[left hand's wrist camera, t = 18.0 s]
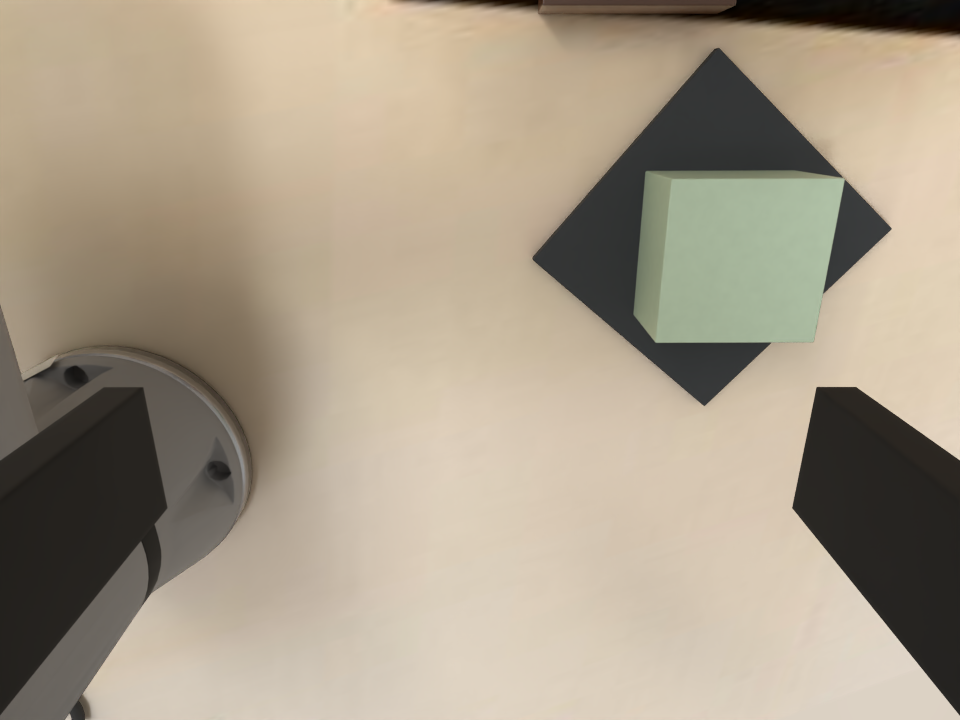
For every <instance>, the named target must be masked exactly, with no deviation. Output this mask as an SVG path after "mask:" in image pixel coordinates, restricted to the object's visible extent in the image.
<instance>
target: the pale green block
mask: <svg viewBox="0 0 960 720" xmlns="http://www.w3.org/2000/svg"><path fill="white" fill-rule="evenodd" d="M844 181H845V179H844V178H840V177H834V176H827V175H821V174H815V173H808V172H802V171H795V170H758V171H646V172H645V184H644V195H643V207H642V219H641V231H640V243H639V255H638V266H637V278H636V290H635V302H634V316H635V317H636V318H637V320H638V321H639V322H640V324H641V325H642V326H643V327H644V329H645V330H646V331H647V332H648V334H649V335H650V336H651V337H652V339H653V340H654V341H655V342H656V343H753V342H814V338H815V333H816V328H817V322H818V317H819V312H820V307H821V301H822V296H823V291H824V286H825V280H826V275H827V270H828V265H829V260H830V254H831V249H832V244H833V239H834V233H835V228H836V223H837V218H838V212H839V207H840V202H841V197H842V192H843V186H844Z"/></svg>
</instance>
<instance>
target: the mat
mask: <svg viewBox="0 0 960 720" xmlns="http://www.w3.org/2000/svg"><path fill="white" fill-rule="evenodd" d="M758 170H795V171H802V172H808V173H815V174H821V175H827V176H834V177H840V178H843V177H842V176H841V175H840V174H839V173H838V172H837V171H836V170H835V169H834V168H833V167H832V166H831V165H830V164H829V162H828V161H827V160H826V159H825V158H824V157H823V156H822V155H821V154H820V153H819V152H818V151H817V150H816V149H815V148H814V147H813V146H812V145H811V144H810V143H809V142H808V141H807V139H806V138H805V137H804V136H803V135H802V134H801V133H800V132H799V131H798V130H797V129H796V128H795V127H794V126H793V125H792V124H791V123H790V122H789V121H788V120H787V119H786V118H785V116H784V115H783V114H782V113H781V112H780V111H779V110H778V109H777V108H776V107H775V106H774V105H773V104H772V103H771V102H770V101H769V100H768V99H767V98H766V97H765V96H764V95H763V93H762V92H761V91H760V90H759V89H758V88H757V87H756V86H755V85H754V84H753V83H752V82H751V81H750V80H749V79H748V78H747V77H746V76H745V75H744V74H743V73H742V72H741V70H740V69H739V68H738V67H737V66H736V65H735V64H734V63H733V62H732V61H731V60H730V59H729V58H728V57H727V56H726V55H725V54H724V53H723V52H722V51H721V50H720V49H719V48H717V49H714V50H713V52H712V53H711V54H710V55H709V56H708V57H707V58H706V60H705V61H704V62H703V63H702V64H701V65H700V66H699V68H698V69H697V70H696V71H695V72H694V73H693V74H692V76H691V77H690V78H689V79H688V80H687V81H686V82H685V84H684V85H683V86H682V87H681V88H680V89H679V90H678V92H677V93H676V94H675V95H674V96H673V97H672V98H671V100H670V101H669V102H668V103H667V104H666V105H665V106H664V108H663V109H662V110H661V111H660V112H659V113H658V114H657V116H656V117H655V118H654V119H653V120H652V121H651V122H650V124H649V125H648V126H647V127H646V128H645V129H644V130H643V132H642V133H641V134H640V135H639V136H638V137H637V138H636V140H635V141H634V142H633V143H632V144H631V145H630V147H629V148H628V149H627V150H626V151H625V152H624V153H623V155H622V156H621V157H620V158H619V159H618V160H617V161H616V163H615V164H614V165H613V166H612V167H611V168H610V169H609V171H608V172H607V173H606V174H605V175H604V176H603V177H602V179H601V180H600V181H599V182H598V183H597V184H596V185H595V187H594V188H593V189H592V190H591V191H590V192H589V193H588V195H587V196H586V197H585V198H584V199H583V200H582V201H581V203H580V204H579V205H578V206H577V207H576V208H575V209H574V211H573V212H572V213H571V214H570V215H569V216H568V217H567V219H566V220H565V221H564V222H563V223H562V224H561V225H560V227H559V228H558V229H557V230H556V231H555V232H554V233H553V235H552V236H551V237H550V238H549V239H548V240H547V241H546V243H545V244H544V245H543V246H542V247H541V248H540V249H539V251H538V252H537V253H536V254H535V255H534V256H533V260H534V261H535V262H536V263H537V264H538V265H540V266H541V267H542V268H543V269H544V270H545V271H547V272H548V273H549V274H550V275H551V276H552V277H554V278H555V279H556V280H557V281H558V282H559V283H561V284H562V285H563V286H564V287H565V288H567V289H568V290H569V291H570V292H571V293H572V294H574V295H575V296H576V297H577V298H578V299H579V300H581V301H582V302H583V303H584V304H585V305H586V306H588V307H589V308H590V309H591V310H592V311H593V312H595V313H596V314H597V315H598V316H599V317H601V318H602V319H603V320H604V321H605V322H606V323H608V324H609V325H610V326H611V327H612V328H613V329H615V330H616V331H617V332H618V333H619V334H620V335H622V336H623V337H624V338H625V339H626V340H627V341H629V342H630V343H631V344H632V345H633V346H634V347H636V348H637V349H638V350H639V351H640V352H642V353H643V354H644V355H645V356H646V357H647V358H649V359H650V360H651V361H652V362H653V363H654V364H656V365H657V366H658V367H659V368H660V369H661V370H663V371H664V372H665V373H666V374H667V375H668V376H670V377H671V378H672V379H673V380H674V381H676V382H677V383H678V384H679V385H680V386H681V387H683V388H684V389H685V390H686V391H687V392H688V393H690V394H691V395H692V396H693V397H694V398H695V399H697V400H698V401H699V402H700V403H701V404H702V405H704V406H705V405H706V404H707V403H708V402H709V401H710V400H711V399H712V398H713V397H714V396H716V395H717V394H718V393H719V392H720V391H721V390H722V389H723V388H724V387H725V386H726V385H727V384H728V383H729V382H730V381H731V380H732V379H734V378H735V377H736V376H737V375H738V374H739V373H740V372H741V371H742V370H743V369H744V368H745V367H746V366H747V365H748V364H749V363H750V362H752V361H753V360H754V359H755V358H756V357H757V356H758V355H759V354H760V353H761V352H762V351H763V350H764V349H765V348H766V347H767V346H768V345H769V344H771V343H772V342H753V343H656V342H655V341H654V340H653V339H652V337H651V336H650V335H649V334H648V332H647V331H646V330H645V329H644V327H643V326H642V325H641V324H640V322H639V321H638V320H637V318H636V317H635V316H634V302H635V290H636V278H637V266H638V255H639V243H640V231H641V219H642V207H643V195H644V184H645V172H646V171H758ZM890 230H891V227H890V226H889V225H888V224H887V223H886V222H885V221H884V220H883V219H882V218H881V217H880V216H879V215H878V214H877V213H876V212H875V211H874V209H873V208H872V207H871V206H870V205H869V204H868V203H867V202H866V201H865V200H864V199H863V198H862V197H861V196H860V195H859V194H858V193H857V192H856V191H855V190H854V189H853V188H852V186H851V185H850V184H849V183H848V182H847V181H846V180H845V181H844V186H843V192H842V197H841V202H840V207H839V212H838V218H837V223H836V228H835V233H834V239H833V244H832V249H831V254H830V260H829V265H828V270H827V275H826V280H825V286H824V291H823V293H825V292H826V291H827V290H828V289H829V288H830V287H831V286H832V285H833V284H834V283H835V282H836V281H837V280H838V279H839V278H840V277H841V276H842V275H844V274H845V273H846V272H847V271H848V270H849V269H850V268H851V267H852V266H853V265H854V264H855V263H856V262H857V261H858V260H859V259H860V258H862V257H863V256H864V255H865V254H866V253H867V252H868V251H869V250H870V249H871V248H872V247H873V246H874V245H875V244H876V243H877V242H878V241H880V240H881V239H882V238H883V237H884V236H885V235H886V234H887V233H888V232H889V231H890Z"/></svg>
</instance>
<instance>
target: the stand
mask: <svg viewBox="0 0 960 720" xmlns="http://www.w3.org/2000/svg"><path fill="white" fill-rule="evenodd" d="M735 5H736V0H538V13H539V14H717V13H719V12H722V11H724V10H726V9H728V8H730V7H733V6H735Z"/></svg>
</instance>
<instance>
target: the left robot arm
mask: <svg viewBox="0 0 960 720" xmlns="http://www.w3.org/2000/svg"><path fill="white" fill-rule="evenodd" d="M251 481H252V463H251V456H250V451H249V447H248V444H247V440H246V437H245V435H244V433H243V430H242V428H241V426H240V424H239V422H238V420H237V419H236V417H235V416H234V414H233V413H232V411H231V409H230V408H229V407H228V406H227V404H226V403H225V402H224V400H223V399H222V398H221V397H220V396H219V395H218V394H217V393H216V392H215V391H214V390H213V389H212V388H211V387H210V386H209V385H208V384H206V383H205V382H204V381H203V380H202V379H200V378H199V377H198V376H196V375H195V374H194V373H192V372H190V371H189V370H187V369H186V368H184V367H182V366H180V365H179V364H177V363H175V362H173V361H171V360H168V359H166V358H164V357H161V356H159V355H156V354H153V353H150V352H147V351H143V350H138V349H134V348H128V347H121V346H94V347H86V348H81V349H77V350H72V351H69V352H67V353H64V354H61V355H59V356H58V354H57V355H56V356H54V357H52V358H50V359H48V360H46V361H44V362H43V363H41V364H39V365H37V366H35V367H33V368H31V369H29V370H28V371H26V372H24V373H22V374H21V372H20V369H19V366H18V362H17V359H16V356H15V352H14V349H13V346H12V342H11V339H10V336H9V332H8V329H7V326H6V322H5V319H4V316H3V312H2V309H1V306H0V720H65V719H66V717H67V716H68V714H69V713H70V715H71V718H72V719H71V720H85V714H84V710H83V707H82V705H81V704H80V702H79V701H78V700H79V698H80V697H81V695H82V694H83V692H84V691H85V689H86V688H87V686H88V685H89V683H90V682H91V680H92V679H93V677H94V676H95V674H96V673H97V672H98V670H99V669H100V667H101V666H102V664H103V663H104V661H105V660H106V658H107V657H108V655H109V654H110V652H111V651H112V649H113V648H114V646H115V645H116V643H117V642H118V641H119V639H120V638H121V636H122V635H123V633H124V632H125V630H126V629H127V627H128V626H129V624H130V623H131V621H132V620H133V618H134V617H135V615H136V614H137V613H138V611H139V610H140V608H141V607H142V605H143V604H144V602H145V601H146V600H147V598H148V597H149V595H150V594H151V593H152V592H154V591H155V590H157V589H158V588H160V587H161V586H163V585H164V584H165V583H167V582H168V581H170V580H171V579H173V578H174V577H176V576H177V575H179V574H180V573H182V572H183V571H185V570H186V569H188V568H189V567H191V566H192V565H193V564H195V563H196V562H198V561H199V560H201V559H202V558H204V557H205V556H206V555H208V554H209V553H210V552H211V551H212V550H213V549H214V548H215V547H217V546H218V545H219V544H220V543H221V542H222V541H223V540H224V538H225V537H226V536H227V535H228V533H229V532H230V531H231V529H232V527H233V526H234V524H235V522H236V521H237V519H238V518H239V516H240V514H241V512H242V511H243V509H244V507H245V504H246V502H247V499H248V496H249V492H250V488H251ZM792 508H793V509H794V511H795V512H796V513H797V514H798V516H799V517H800V518H801V519H802V521H803V522H804V523H805V524H806V526H807V527H808V528H809V529H810V531H811V532H812V533H813V534H814V535H815V537H816V538H817V539H818V540H819V542H820V543H821V544H822V545H823V547H824V548H825V549H826V550H827V552H828V553H829V554H830V555H831V557H832V558H833V559H834V560H835V561H836V563H837V564H838V565H839V566H840V568H841V569H842V570H843V571H844V573H845V574H846V575H847V576H848V578H849V579H850V580H851V581H852V583H853V584H854V585H855V586H856V587H857V589H858V590H859V591H860V592H861V594H862V595H863V596H864V597H865V599H866V600H867V601H868V602H869V604H870V605H871V606H872V607H873V609H874V610H875V611H876V612H877V613H878V615H879V616H880V617H881V618H882V620H883V621H884V622H885V623H886V625H887V626H888V627H889V628H890V630H891V631H892V632H893V633H894V635H895V636H896V637H897V638H898V639H899V641H900V642H901V643H902V644H903V646H904V647H905V648H906V649H907V651H908V652H909V653H910V654H911V656H912V657H913V658H914V659H915V661H916V662H917V663H918V664H919V665H920V667H921V668H922V669H923V670H924V672H925V673H926V674H927V675H928V677H929V678H930V679H931V680H932V682H933V683H934V684H935V685H936V687H937V688H938V689H939V690H940V691H941V693H942V694H943V695H944V696H945V698H946V699H947V700H948V701H949V703H950V704H951V705H952V706H953V708H954V709H955V710H956V711H957V713H958V714H959V715H960V460H958V459H957V458H956V457H954V456H953V455H951V454H950V453H948V452H947V451H946V450H944V449H943V448H941V447H940V446H939V445H937V444H936V443H934V442H933V441H931V440H930V439H929V438H927V437H926V436H924V435H923V434H922V433H920V432H919V431H917V430H916V429H915V428H913V427H912V426H910V425H909V424H907V423H906V422H905V421H903V420H902V419H900V418H899V417H898V416H896V415H895V414H893V413H892V412H890V411H889V410H888V409H886V408H885V407H883V406H882V405H881V404H879V403H878V402H876V401H875V400H873V399H872V398H871V397H869V396H868V395H866V394H865V393H864V392H862V391H861V390H859V389H858V388H857V387H817V388H816V393H815V398H814V403H813V408H812V413H811V418H810V423H809V428H808V433H807V438H806V443H805V448H804V453H803V458H802V463H801V468H800V473H799V477H798V482H797V487H796V492H795V497H794V502H793V507H792Z"/></svg>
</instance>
